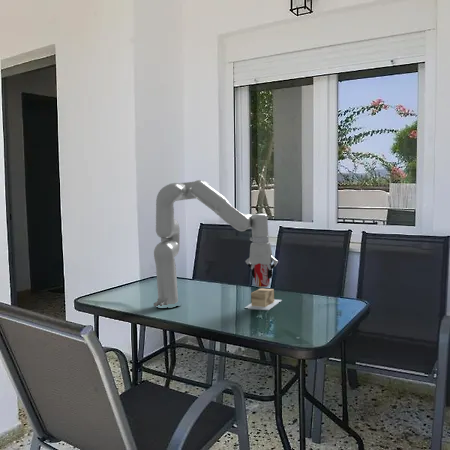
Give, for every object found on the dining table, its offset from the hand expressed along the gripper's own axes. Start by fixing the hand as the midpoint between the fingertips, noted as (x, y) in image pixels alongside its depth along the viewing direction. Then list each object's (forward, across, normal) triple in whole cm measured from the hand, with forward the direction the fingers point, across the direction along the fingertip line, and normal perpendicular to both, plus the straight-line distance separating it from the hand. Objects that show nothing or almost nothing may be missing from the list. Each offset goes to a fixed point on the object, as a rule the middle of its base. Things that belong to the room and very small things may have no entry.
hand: (262, 277), depth 221 cm
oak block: (+12, 0, 0) cm, 12 cm away
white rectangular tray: (+13, 0, 0) cm, 13 cm away
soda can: (+4, 0, 0) cm, 4 cm away
